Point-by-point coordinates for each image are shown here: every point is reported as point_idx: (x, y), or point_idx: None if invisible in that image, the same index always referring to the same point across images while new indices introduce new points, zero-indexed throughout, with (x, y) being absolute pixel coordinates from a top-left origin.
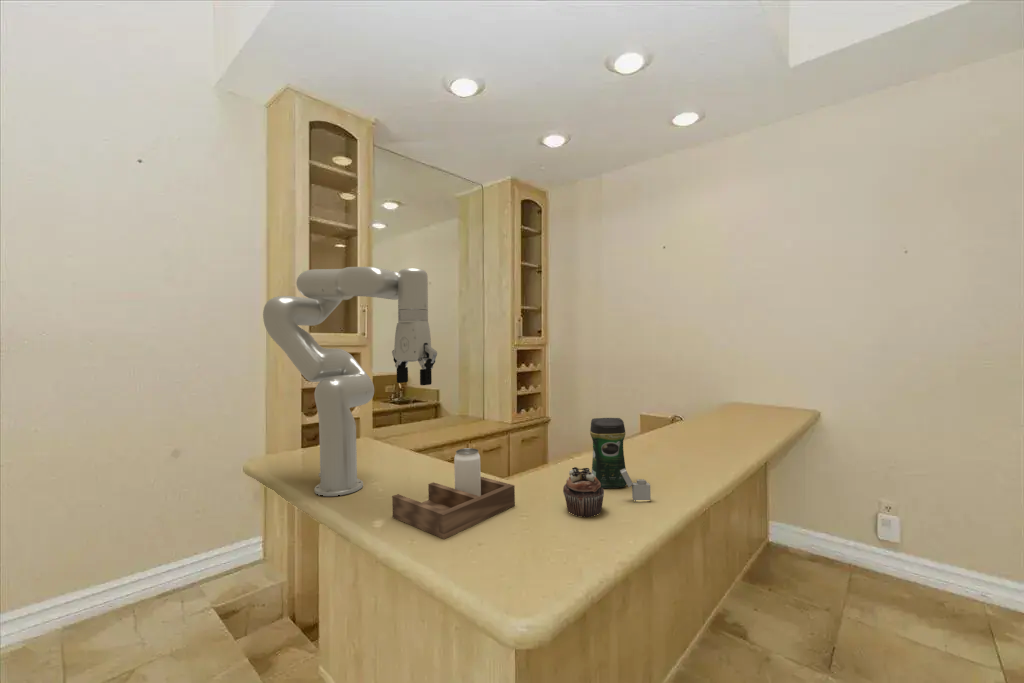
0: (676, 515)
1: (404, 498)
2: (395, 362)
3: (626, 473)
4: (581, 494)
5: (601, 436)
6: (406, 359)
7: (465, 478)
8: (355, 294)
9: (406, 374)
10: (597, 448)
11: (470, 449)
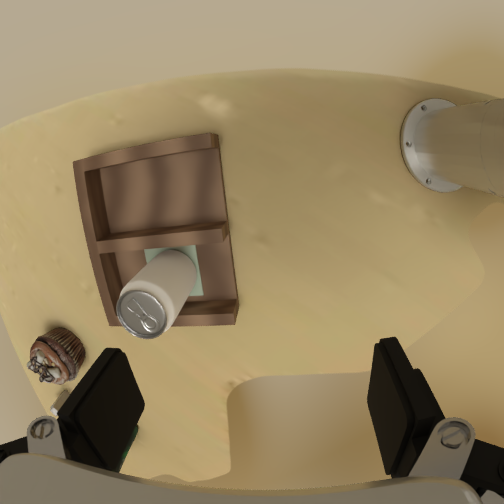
0: (29, 376)
1: (179, 145)
2: (494, 452)
3: (51, 408)
4: (36, 340)
5: None
6: (143, 490)
7: (139, 271)
8: None
9: (379, 430)
10: None
11: (157, 334)
